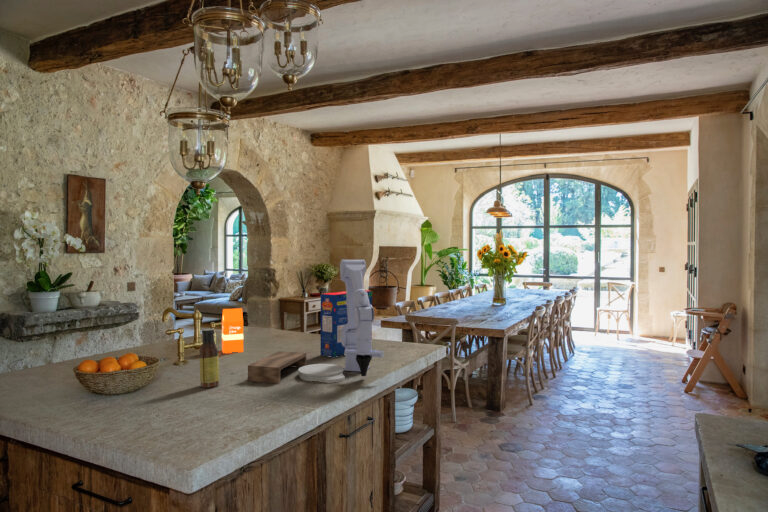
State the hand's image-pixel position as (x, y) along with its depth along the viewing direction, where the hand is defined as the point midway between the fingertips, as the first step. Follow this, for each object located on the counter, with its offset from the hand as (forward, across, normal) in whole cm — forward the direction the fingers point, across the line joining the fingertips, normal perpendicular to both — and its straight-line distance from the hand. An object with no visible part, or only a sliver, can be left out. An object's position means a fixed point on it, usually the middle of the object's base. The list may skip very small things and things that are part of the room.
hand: (363, 375), depth 185 cm
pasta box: (+2, -21, +46) cm, 51 cm away
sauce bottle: (+2, -50, -22) cm, 55 cm away
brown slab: (+1, -34, 0) cm, 34 cm away
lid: (+2, -16, 0) cm, 16 cm away
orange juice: (+1, -73, +33) cm, 80 cm away
